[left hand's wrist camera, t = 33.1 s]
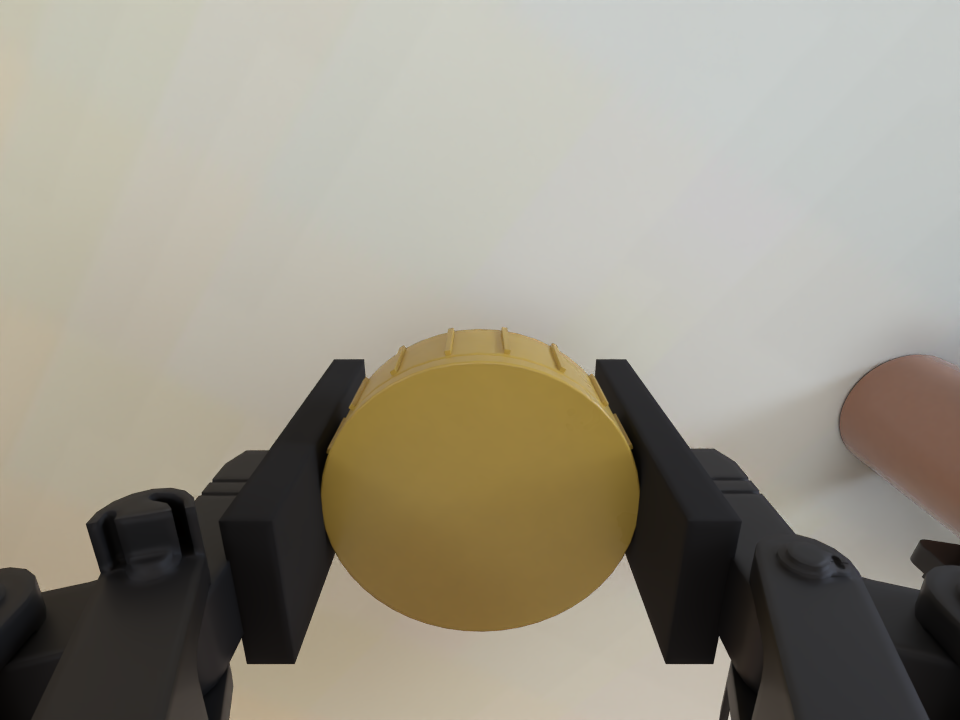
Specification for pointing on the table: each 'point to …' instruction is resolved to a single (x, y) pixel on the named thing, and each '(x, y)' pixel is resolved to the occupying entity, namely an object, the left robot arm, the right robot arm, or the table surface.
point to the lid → (480, 482)
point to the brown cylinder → (910, 431)
